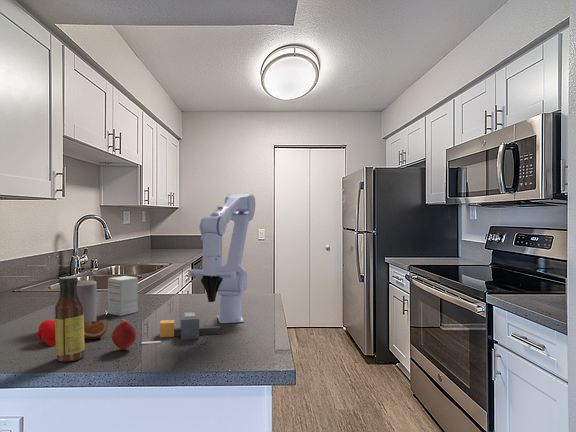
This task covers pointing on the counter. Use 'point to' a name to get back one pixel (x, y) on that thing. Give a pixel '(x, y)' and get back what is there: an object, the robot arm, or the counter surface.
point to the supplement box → (122, 295)
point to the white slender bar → (151, 342)
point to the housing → (189, 325)
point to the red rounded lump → (124, 335)
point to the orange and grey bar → (170, 331)
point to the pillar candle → (88, 298)
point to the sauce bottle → (69, 322)
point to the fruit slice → (95, 329)
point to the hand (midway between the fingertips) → (211, 301)
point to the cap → (47, 332)
